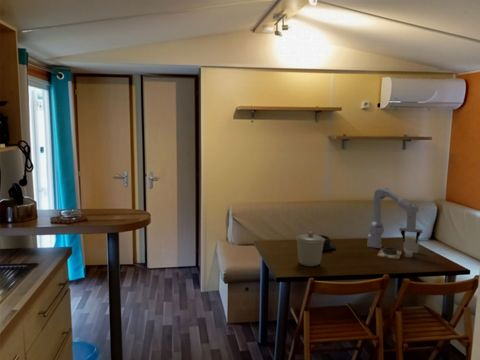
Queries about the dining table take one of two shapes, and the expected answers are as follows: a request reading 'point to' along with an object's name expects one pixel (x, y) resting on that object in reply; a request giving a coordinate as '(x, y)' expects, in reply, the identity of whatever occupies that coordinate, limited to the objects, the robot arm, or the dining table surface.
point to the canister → (309, 249)
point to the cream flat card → (389, 253)
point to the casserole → (327, 243)
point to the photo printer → (411, 243)
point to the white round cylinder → (408, 252)
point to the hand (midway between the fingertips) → (410, 242)
